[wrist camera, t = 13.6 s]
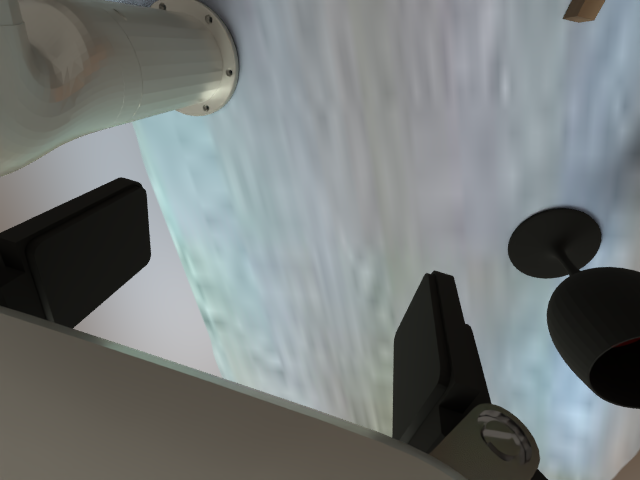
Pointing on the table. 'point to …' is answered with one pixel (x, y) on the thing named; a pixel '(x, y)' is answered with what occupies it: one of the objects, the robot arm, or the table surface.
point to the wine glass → (585, 302)
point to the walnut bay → (583, 10)
